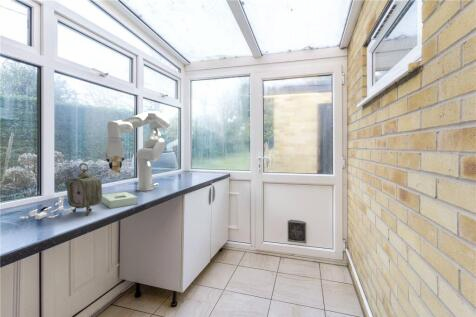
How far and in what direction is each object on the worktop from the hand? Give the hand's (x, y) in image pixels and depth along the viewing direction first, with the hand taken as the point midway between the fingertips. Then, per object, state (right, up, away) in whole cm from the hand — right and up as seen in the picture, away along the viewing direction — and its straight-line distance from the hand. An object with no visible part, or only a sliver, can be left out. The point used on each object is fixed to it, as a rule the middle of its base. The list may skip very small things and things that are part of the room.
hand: (115, 168), depth 148 cm
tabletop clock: (+3, -21, -33) cm, 39 cm away
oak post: (0, -3, 0) cm, 3 cm away
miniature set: (-12, -21, -29) cm, 38 cm away
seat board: (+9, -20, -14) cm, 26 cm away
